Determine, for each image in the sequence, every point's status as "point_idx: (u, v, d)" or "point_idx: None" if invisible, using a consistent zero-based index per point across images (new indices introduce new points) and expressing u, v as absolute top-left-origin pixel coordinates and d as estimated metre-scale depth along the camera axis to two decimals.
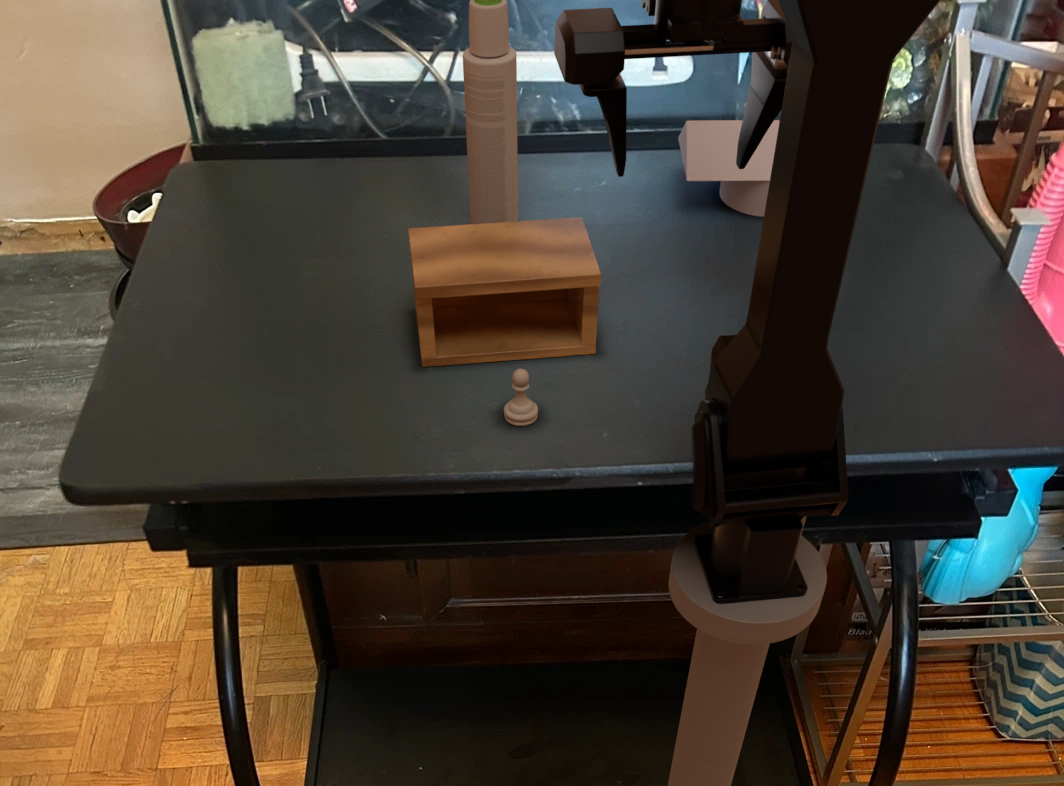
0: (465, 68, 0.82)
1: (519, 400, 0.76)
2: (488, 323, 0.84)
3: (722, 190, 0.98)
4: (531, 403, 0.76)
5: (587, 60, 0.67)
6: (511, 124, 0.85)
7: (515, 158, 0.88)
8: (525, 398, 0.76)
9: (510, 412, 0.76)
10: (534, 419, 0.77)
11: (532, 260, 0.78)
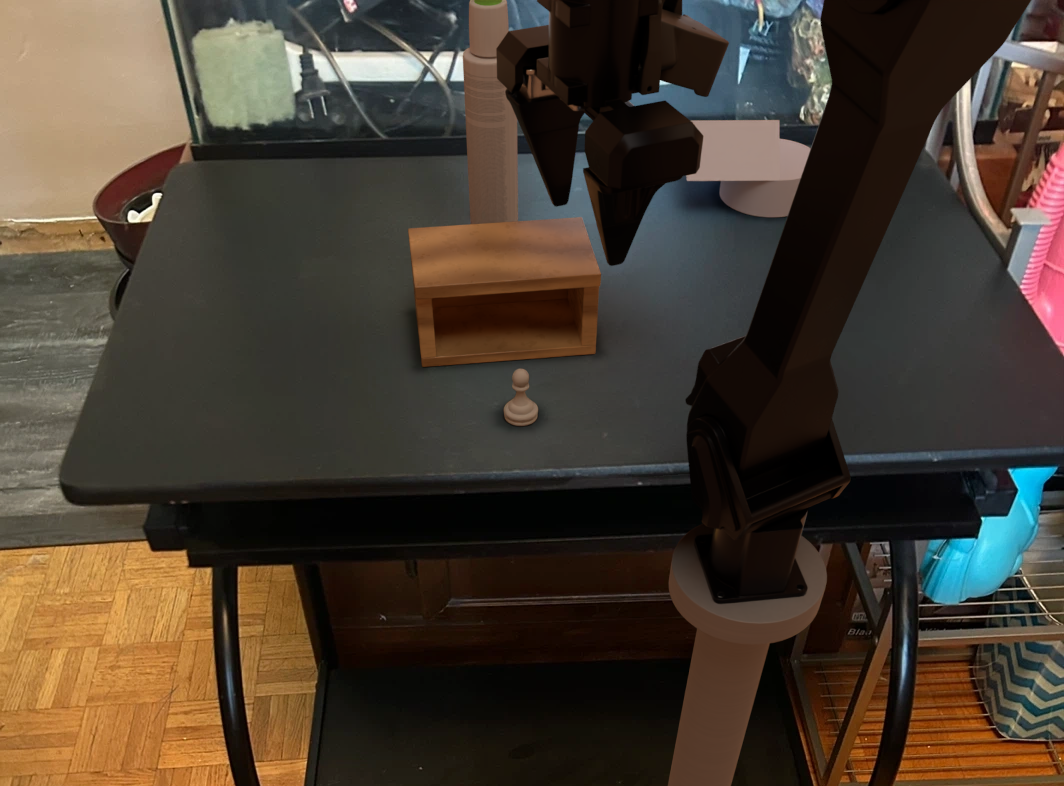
0: (465, 68, 0.82)
1: (519, 400, 0.76)
2: (488, 323, 0.84)
3: (722, 190, 0.98)
4: (531, 403, 0.76)
5: (500, 59, 0.69)
6: (511, 124, 0.85)
7: (515, 158, 0.88)
8: (525, 398, 0.76)
9: (510, 412, 0.76)
10: (534, 419, 0.77)
11: (532, 260, 0.78)
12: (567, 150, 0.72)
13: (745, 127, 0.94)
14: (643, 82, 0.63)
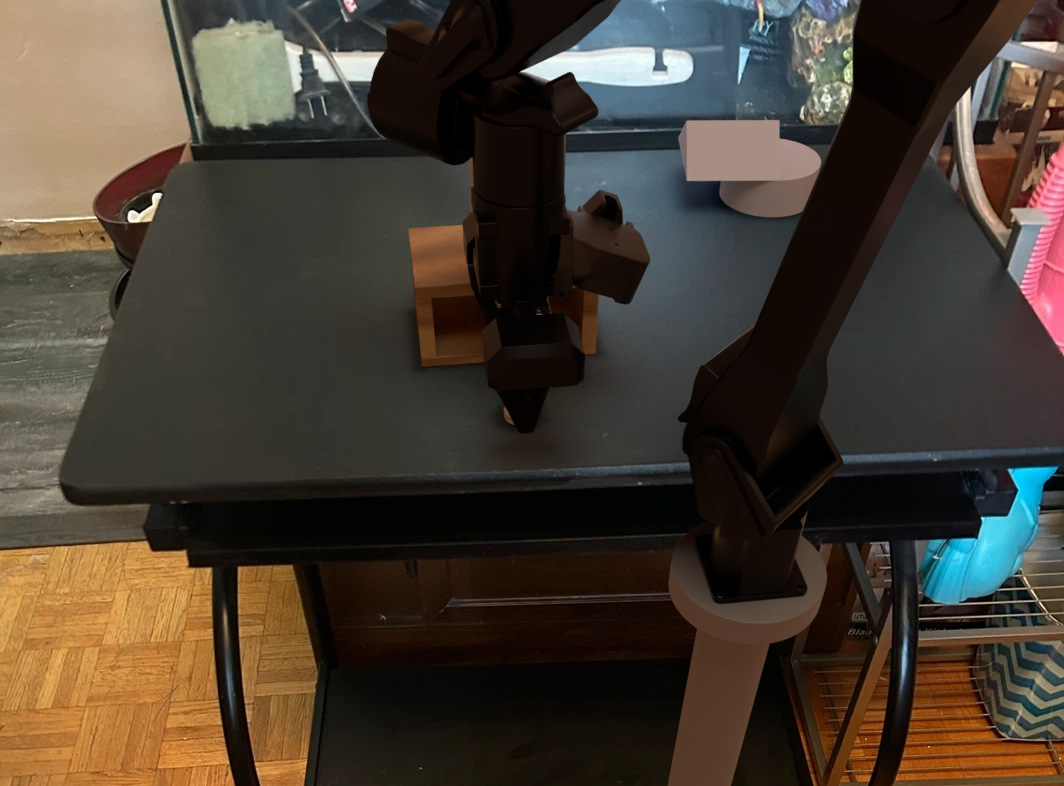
0: None
1: None
2: None
3: (722, 190, 0.98)
4: None
5: (463, 233, 0.74)
6: None
7: None
8: None
9: None
10: None
11: None
12: None
13: (745, 127, 0.94)
14: (555, 289, 0.67)
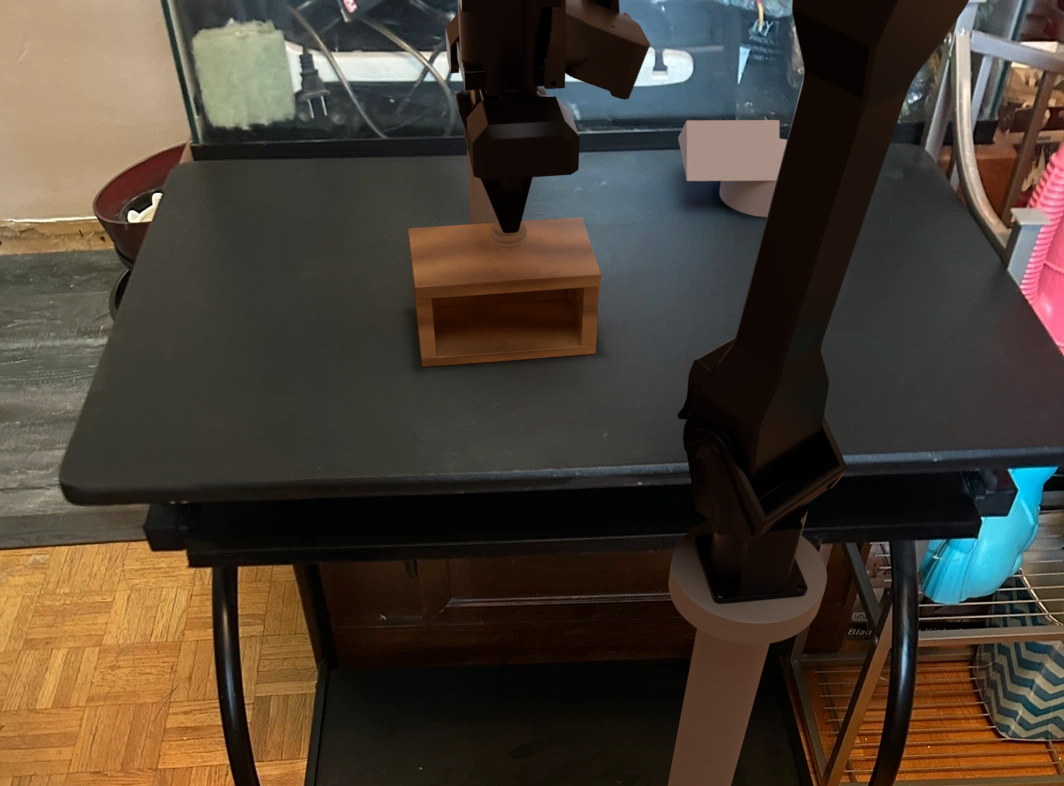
0: None
1: None
2: (488, 323, 0.84)
3: (722, 190, 0.98)
4: None
5: (447, 39, 0.68)
6: None
7: None
8: None
9: (497, 232, 0.70)
10: (523, 241, 0.71)
11: (532, 260, 0.78)
12: None
13: (745, 127, 0.94)
14: (546, 76, 0.61)
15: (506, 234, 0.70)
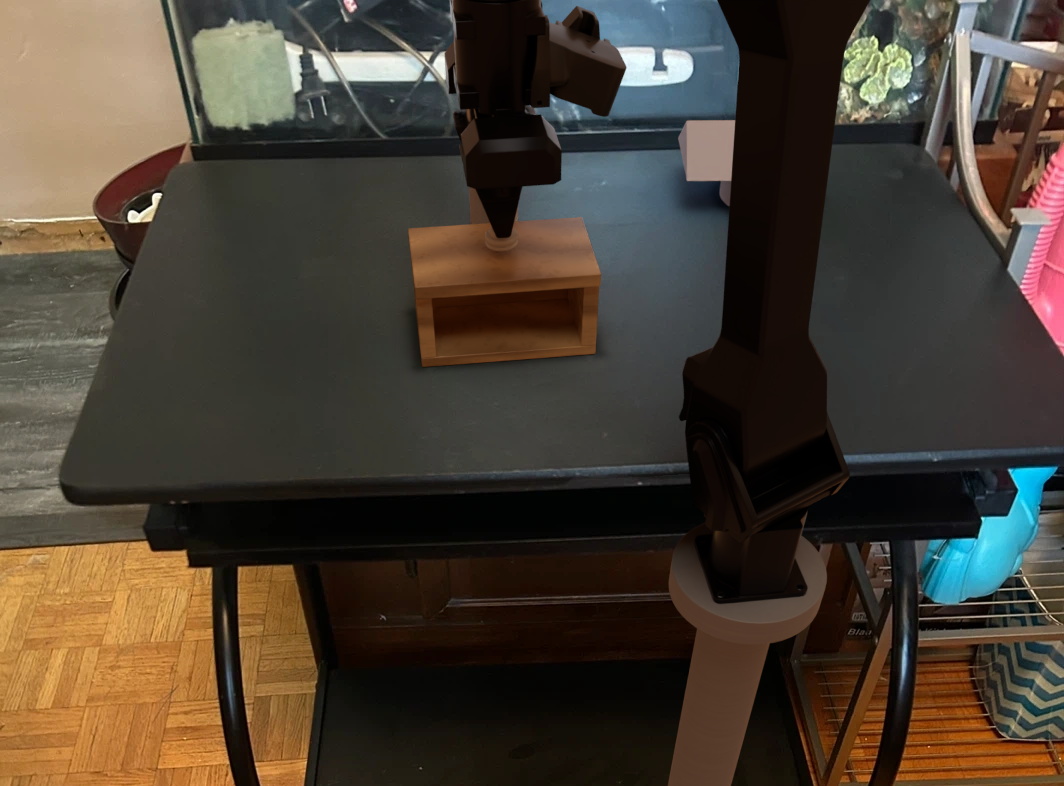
0: None
1: None
2: (488, 323, 0.84)
3: (722, 190, 0.98)
4: None
5: (445, 63, 0.75)
6: None
7: None
8: None
9: (490, 237, 0.77)
10: (514, 245, 0.78)
11: (532, 260, 0.78)
12: None
13: None
14: (533, 96, 0.68)
15: (499, 239, 0.77)
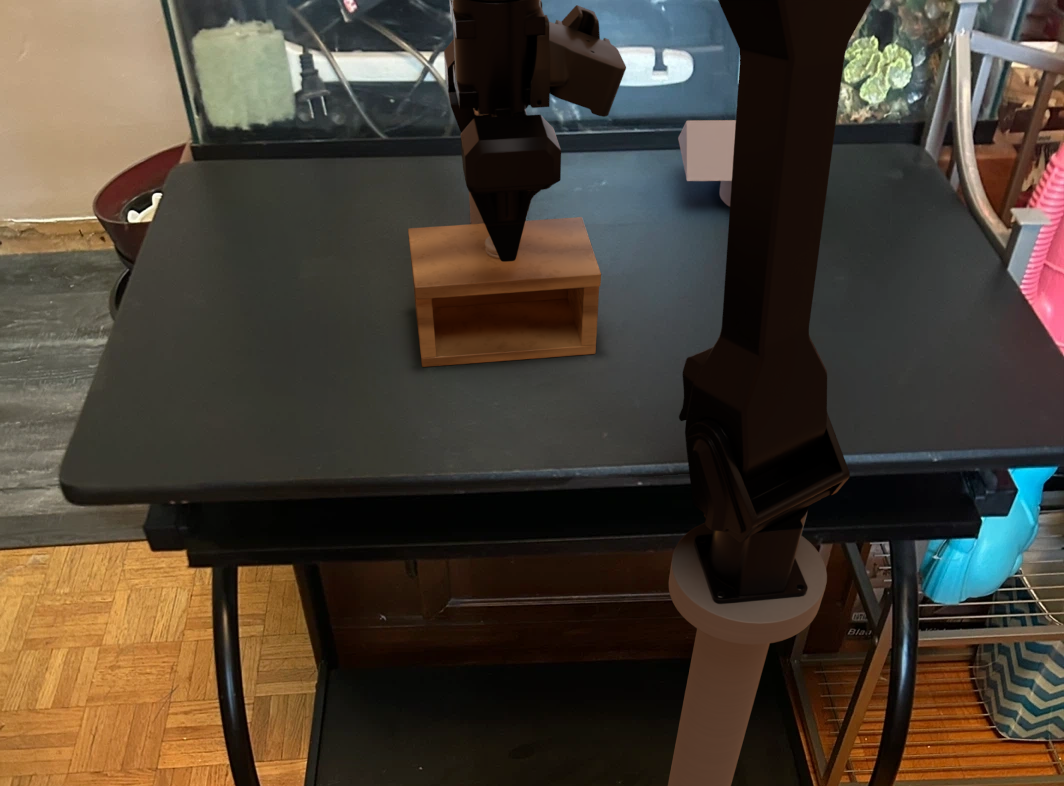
0: None
1: None
2: (488, 323, 0.84)
3: (722, 190, 0.98)
4: None
5: None
6: None
7: None
8: None
9: (491, 244, 0.78)
10: None
11: (532, 260, 0.78)
12: None
13: None
14: (532, 96, 0.68)
15: None
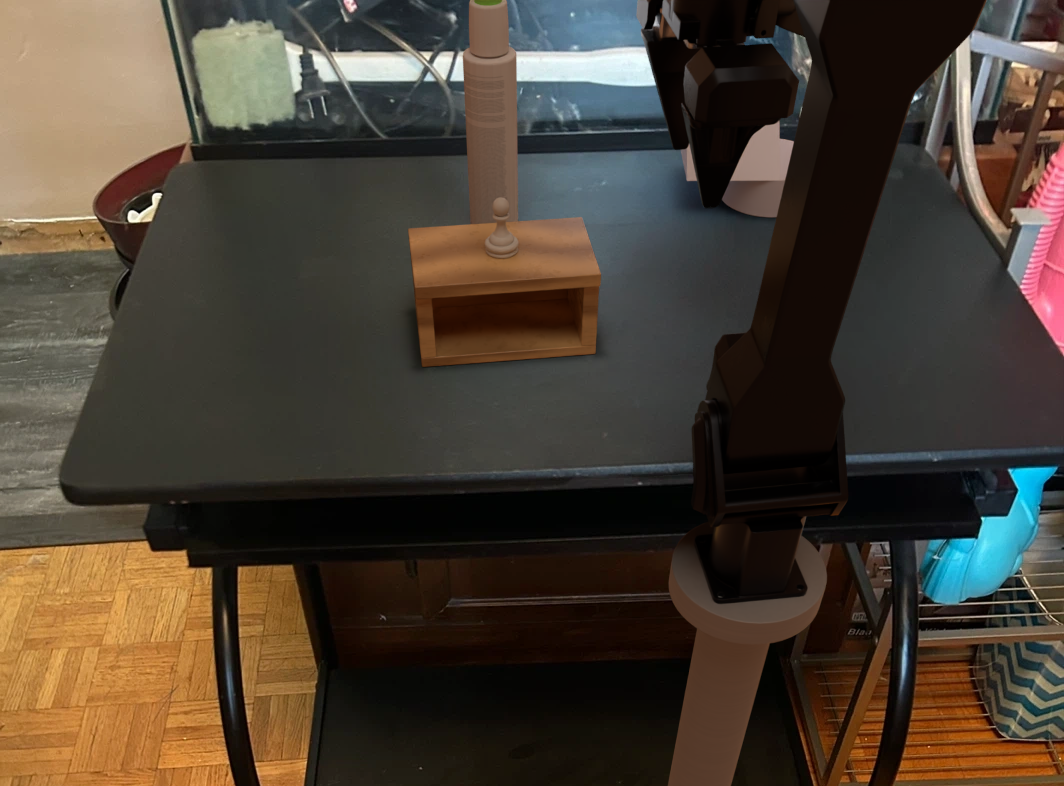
0: (465, 68, 0.82)
1: (499, 231, 0.77)
2: (488, 323, 0.84)
3: None
4: (511, 235, 0.78)
5: None
6: (511, 124, 0.85)
7: (515, 158, 0.88)
8: (505, 229, 0.77)
9: (491, 244, 0.78)
10: (514, 252, 0.78)
11: (532, 260, 0.78)
12: None
13: None
14: (757, 25, 0.64)
15: (499, 246, 0.78)
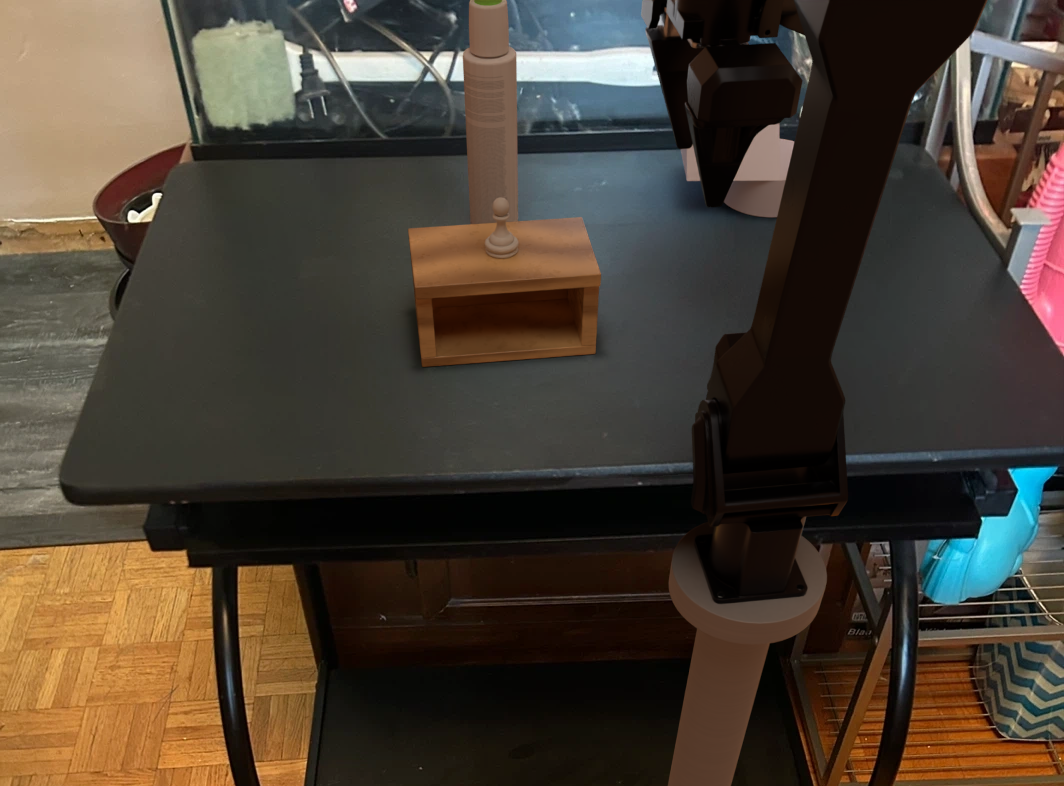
0: (465, 68, 0.82)
1: (499, 231, 0.77)
2: (488, 323, 0.84)
3: None
4: (511, 235, 0.78)
5: None
6: (511, 124, 0.85)
7: (515, 158, 0.88)
8: (505, 229, 0.77)
9: (491, 244, 0.78)
10: (514, 252, 0.78)
11: (532, 260, 0.78)
12: None
13: None
14: (761, 25, 0.64)
15: (499, 246, 0.78)
